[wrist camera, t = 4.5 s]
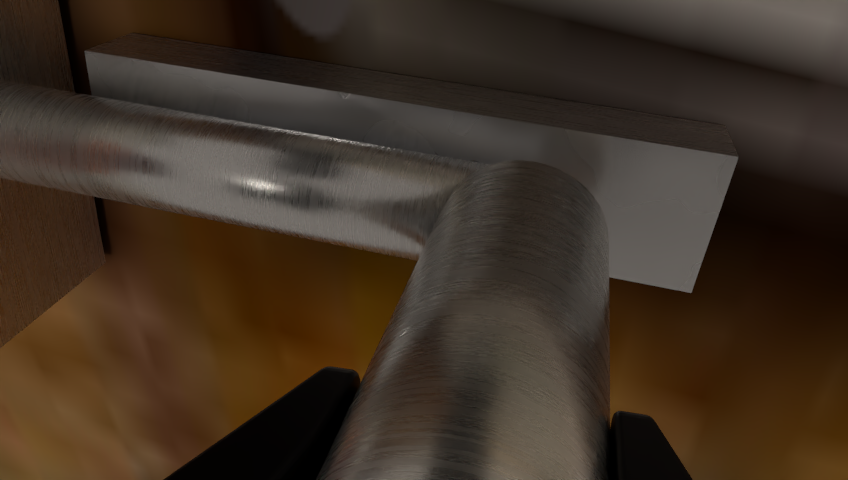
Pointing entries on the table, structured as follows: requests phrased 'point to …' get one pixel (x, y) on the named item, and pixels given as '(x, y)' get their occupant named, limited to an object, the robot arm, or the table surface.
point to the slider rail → (459, 135)
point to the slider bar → (346, 226)
